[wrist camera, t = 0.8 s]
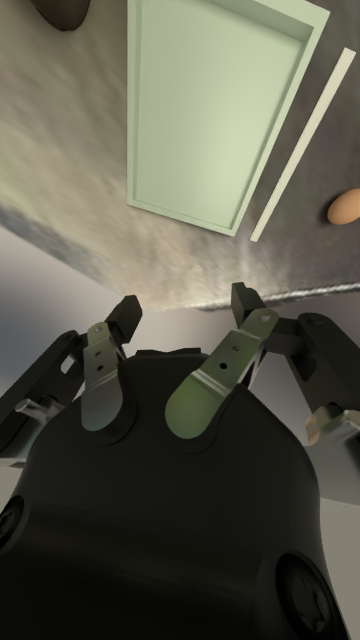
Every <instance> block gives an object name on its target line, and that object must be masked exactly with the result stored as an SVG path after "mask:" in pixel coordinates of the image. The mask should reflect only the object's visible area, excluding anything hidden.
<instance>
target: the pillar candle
mask: <svg viewBox="0 0 360 640" xmlns="http://www.w3.org/2000/svg"><path fill="white" fill-rule="evenodd" d="M31 2H32V3H33V4H34V5H35V7H36V9H37V10H38V11H39V13H40V14H41V15H42V16H43V17H44V18H45V20H47V21H48V22H49V23H50V24H51V25H52V26H54V27H55V28H57V29H59V30H60V31H65V30H74V29H76V28H77V27H78V26H79V25H80V24H81V23H82V21H83V19H84V18H85V15H86V12H87V9H88V6H89V3H90V0H31Z"/></svg>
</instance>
